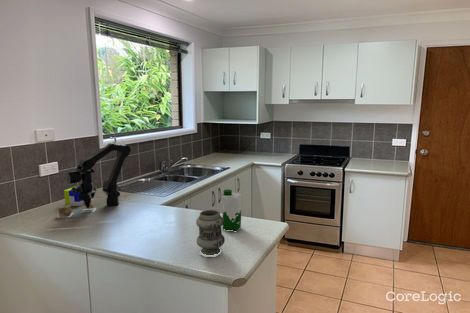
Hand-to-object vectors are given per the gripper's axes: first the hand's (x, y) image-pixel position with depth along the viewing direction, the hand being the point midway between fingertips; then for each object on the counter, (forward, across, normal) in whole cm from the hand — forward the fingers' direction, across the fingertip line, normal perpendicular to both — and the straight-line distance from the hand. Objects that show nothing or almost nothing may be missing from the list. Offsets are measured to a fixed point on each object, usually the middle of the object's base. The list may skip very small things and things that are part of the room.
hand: (88, 206), depth 198 cm
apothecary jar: (+3, +67, +66) cm, 94 cm away
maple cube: (+1, 0, 0) cm, 1 cm away
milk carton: (+3, +42, +79) cm, 90 cm away
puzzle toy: (+3, -16, -11) cm, 20 cm away
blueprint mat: (+3, +4, -6) cm, 8 cm away
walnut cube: (+2, +7, -11) cm, 13 cm away
